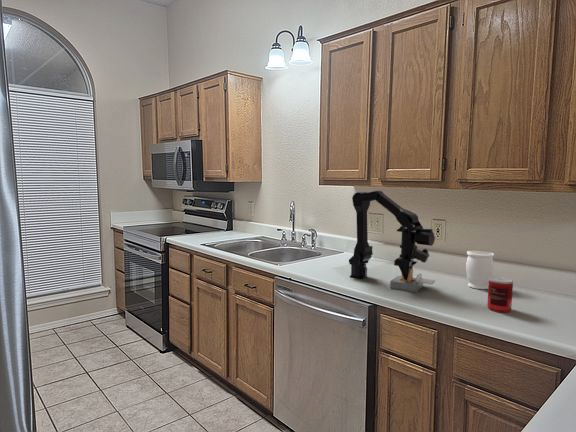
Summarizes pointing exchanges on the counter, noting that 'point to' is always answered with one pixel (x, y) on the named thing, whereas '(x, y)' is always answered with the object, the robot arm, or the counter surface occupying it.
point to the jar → (479, 268)
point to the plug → (410, 276)
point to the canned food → (500, 294)
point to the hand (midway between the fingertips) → (406, 278)
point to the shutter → (423, 280)
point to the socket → (405, 284)
